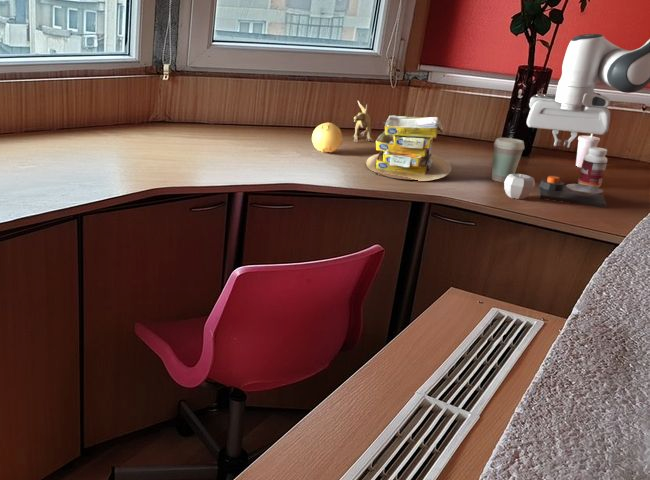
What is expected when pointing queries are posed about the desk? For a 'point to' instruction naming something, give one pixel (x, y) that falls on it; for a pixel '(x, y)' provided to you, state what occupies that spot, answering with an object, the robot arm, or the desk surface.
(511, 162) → the coffee cup
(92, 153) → the desk surface
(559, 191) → the scale
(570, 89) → the robot arm
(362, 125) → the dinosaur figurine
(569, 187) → the scale pan
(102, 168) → the desk surface
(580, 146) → the smoothie
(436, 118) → the stacked yellow boxes
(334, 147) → the stress ball
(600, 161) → the pill bottle
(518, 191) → the white faceted lump
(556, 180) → the tare button
